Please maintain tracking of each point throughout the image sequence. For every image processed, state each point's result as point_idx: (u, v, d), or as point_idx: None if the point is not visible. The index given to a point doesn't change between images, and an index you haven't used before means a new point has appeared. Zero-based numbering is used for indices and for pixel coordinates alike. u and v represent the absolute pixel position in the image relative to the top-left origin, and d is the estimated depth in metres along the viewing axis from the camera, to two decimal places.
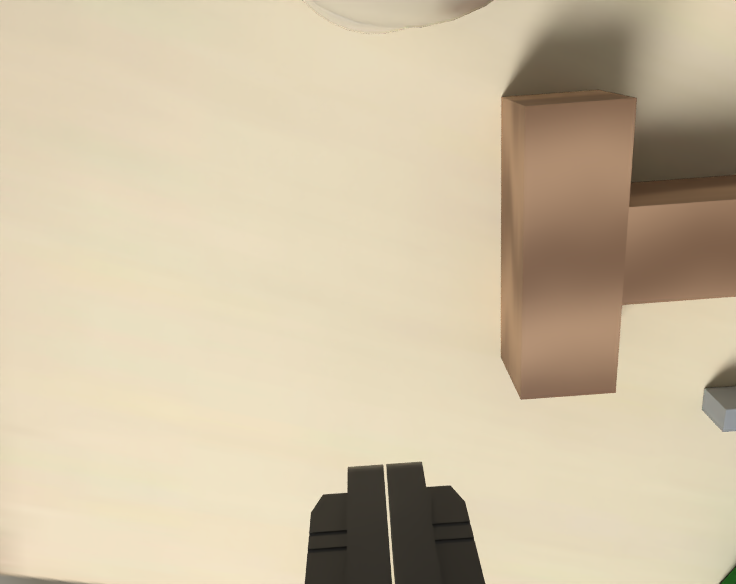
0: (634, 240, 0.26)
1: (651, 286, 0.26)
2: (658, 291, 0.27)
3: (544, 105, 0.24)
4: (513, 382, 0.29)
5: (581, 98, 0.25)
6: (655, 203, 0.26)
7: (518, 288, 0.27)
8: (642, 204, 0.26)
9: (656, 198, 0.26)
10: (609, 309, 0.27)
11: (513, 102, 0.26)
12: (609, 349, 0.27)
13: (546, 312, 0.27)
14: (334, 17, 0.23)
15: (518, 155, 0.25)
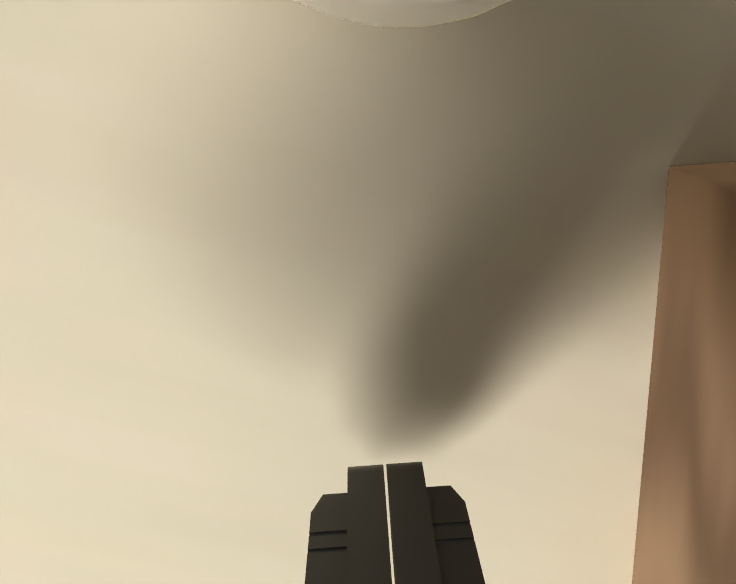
0: None
1: None
2: None
3: None
4: None
5: None
6: None
7: None
8: None
9: None
10: None
11: (728, 191, 0.11)
12: None
13: None
14: None
15: None
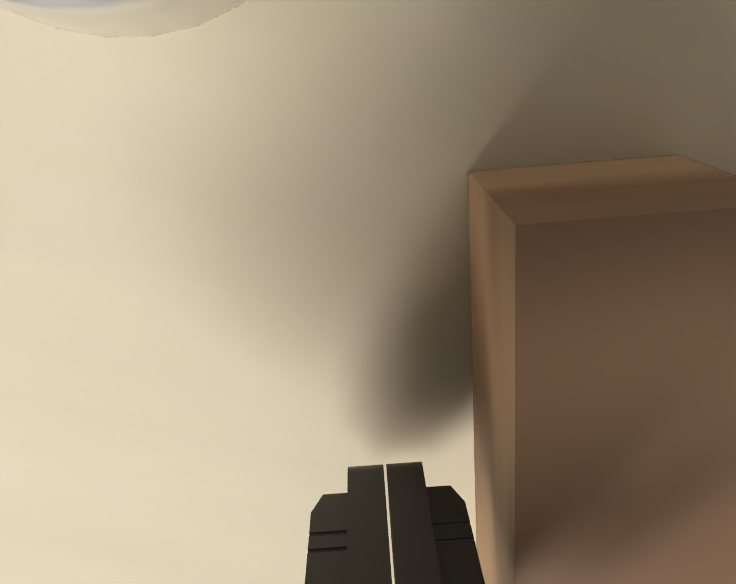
0: None
1: None
2: None
3: (565, 221, 0.09)
4: None
5: (655, 192, 0.10)
6: None
7: None
8: None
9: None
10: None
11: (489, 197, 0.11)
12: None
13: None
14: None
15: (501, 325, 0.11)
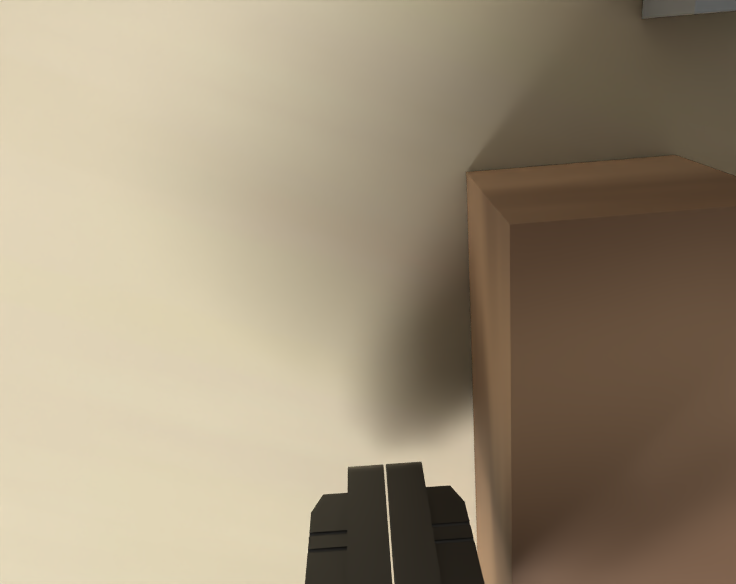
0: None
1: None
2: None
3: (560, 221, 0.09)
4: None
5: (651, 192, 0.10)
6: None
7: None
8: None
9: None
10: None
11: (486, 197, 0.11)
12: None
13: None
14: None
15: (498, 325, 0.11)
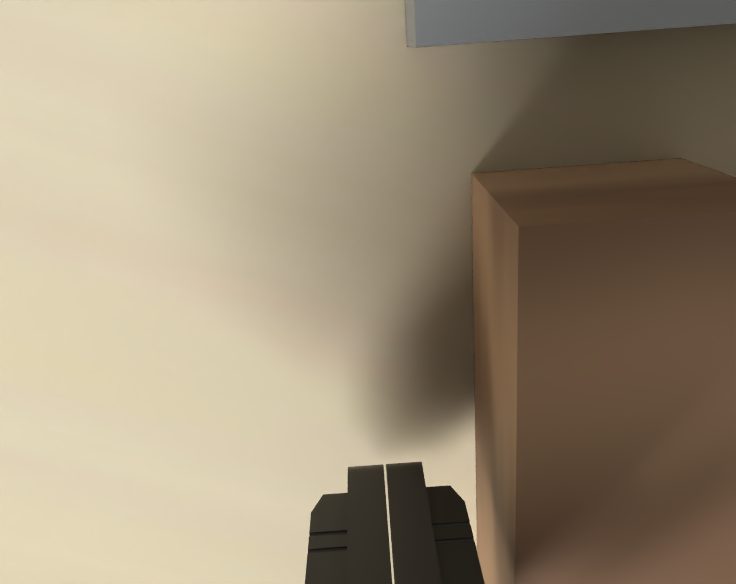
0: None
1: None
2: None
3: (569, 224, 0.09)
4: None
5: (659, 196, 0.10)
6: None
7: None
8: None
9: None
10: None
11: (493, 199, 0.11)
12: None
13: None
14: None
15: (504, 328, 0.11)
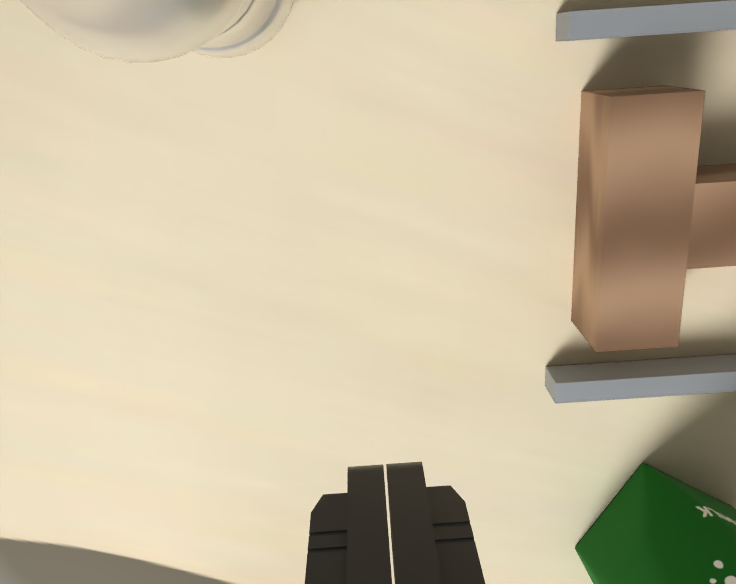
0: (698, 212, 0.30)
1: (712, 252, 0.31)
2: (718, 257, 0.31)
3: (627, 96, 0.28)
4: (586, 339, 0.34)
5: (656, 91, 0.29)
6: (717, 180, 0.30)
7: (596, 254, 0.32)
8: (705, 181, 0.30)
9: (717, 177, 0.31)
10: (675, 272, 0.31)
11: (596, 94, 0.30)
12: (674, 308, 0.32)
13: (621, 275, 0.31)
14: None
15: (601, 139, 0.30)
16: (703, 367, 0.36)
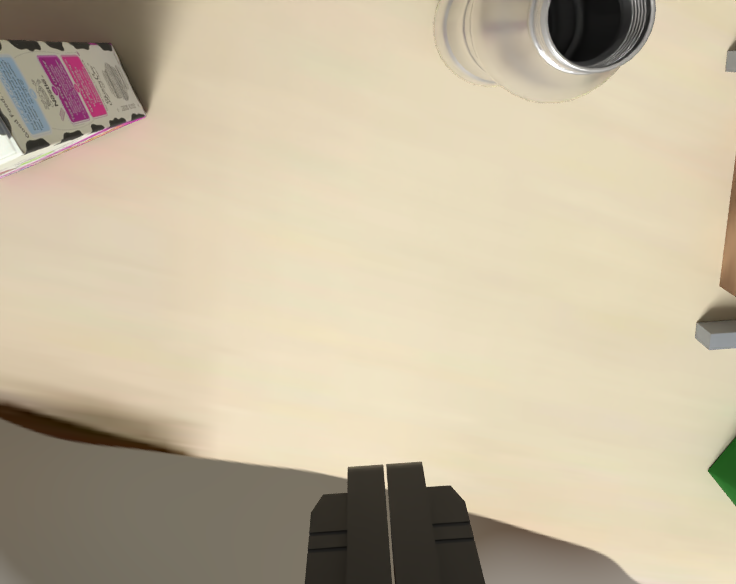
0: None
1: None
2: None
3: None
4: None
5: None
6: None
7: None
8: None
9: None
10: None
11: None
12: None
13: None
14: (470, 78, 0.37)
15: None
16: None
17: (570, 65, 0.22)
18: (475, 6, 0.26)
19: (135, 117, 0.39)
